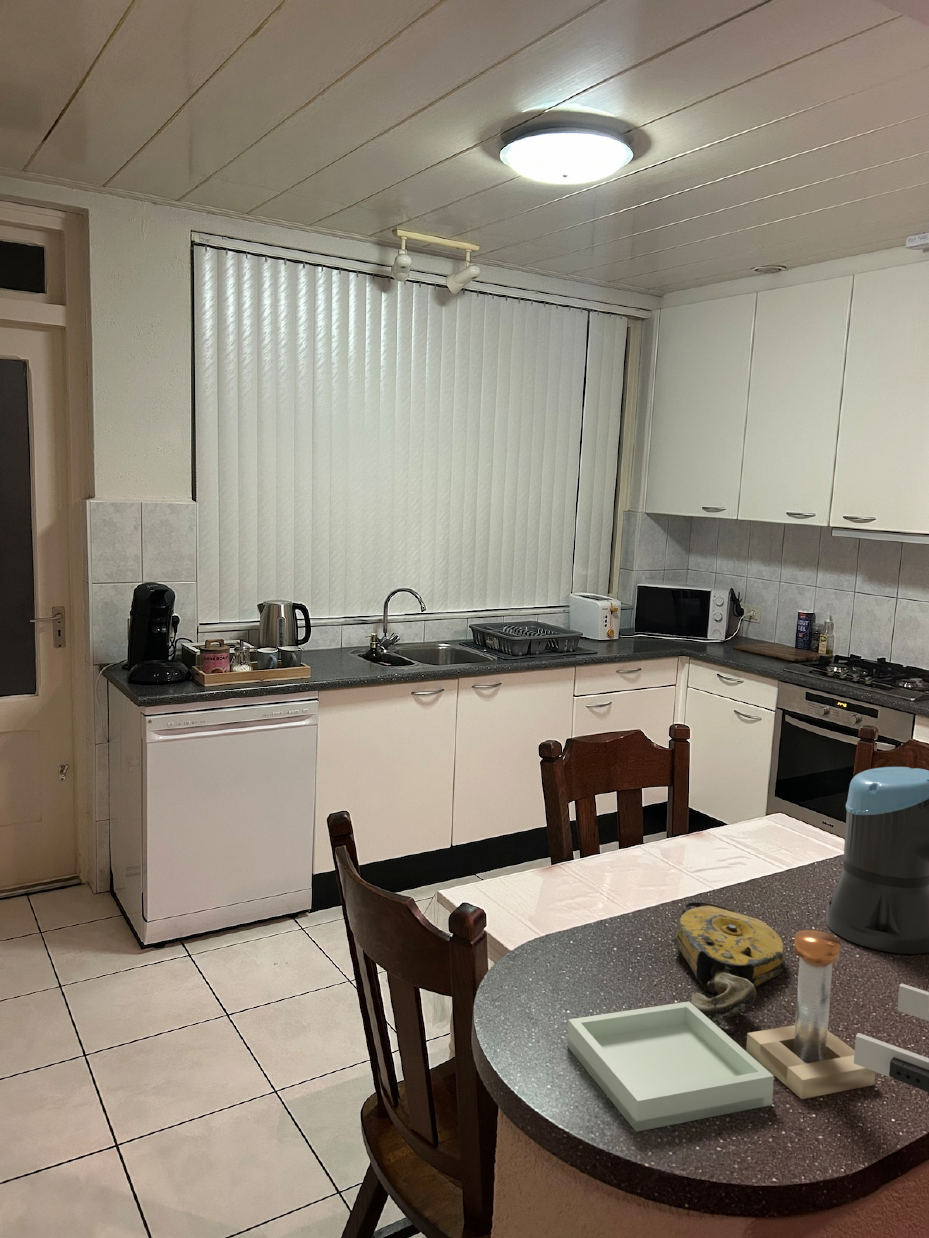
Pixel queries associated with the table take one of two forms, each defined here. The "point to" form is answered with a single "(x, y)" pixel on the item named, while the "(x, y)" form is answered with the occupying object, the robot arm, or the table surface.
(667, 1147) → the table surface
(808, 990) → the steel pin
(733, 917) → the pulley block
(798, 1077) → the bracket
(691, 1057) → the pale green tray
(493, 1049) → the table surface
